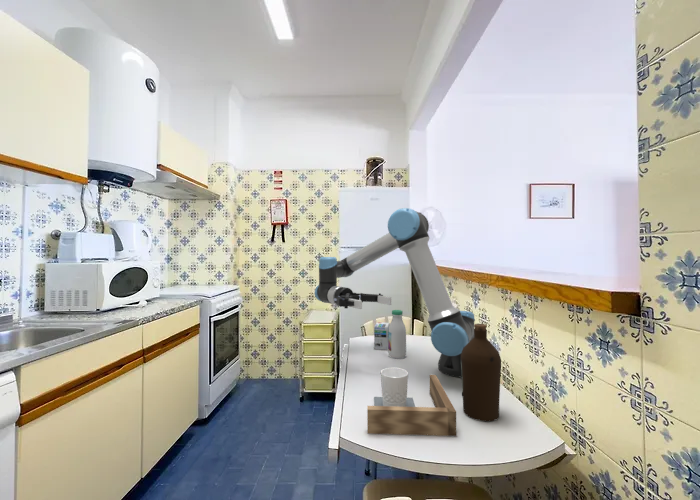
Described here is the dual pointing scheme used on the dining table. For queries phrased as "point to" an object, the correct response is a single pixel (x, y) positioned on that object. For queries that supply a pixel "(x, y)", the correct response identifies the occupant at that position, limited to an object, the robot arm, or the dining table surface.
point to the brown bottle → (481, 377)
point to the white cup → (394, 386)
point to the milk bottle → (397, 336)
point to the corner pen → (415, 416)
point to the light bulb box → (381, 335)
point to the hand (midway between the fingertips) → (376, 303)
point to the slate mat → (379, 402)
